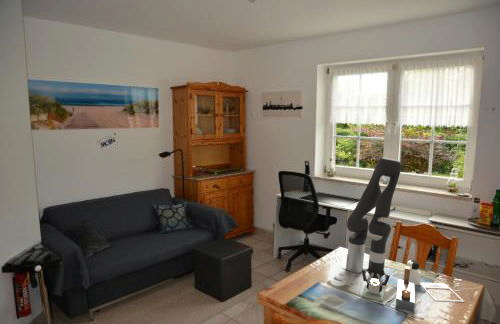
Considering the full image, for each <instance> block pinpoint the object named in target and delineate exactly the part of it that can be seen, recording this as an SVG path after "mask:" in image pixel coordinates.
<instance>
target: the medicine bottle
mask: <svg viewBox="0 0 500 324" xmlns="http://www.w3.org/2000/svg"><path fill="white" fill-rule="evenodd" d="M406 266H407V267H410V276H409V281H410V282H414V283H415V286H421V285H420V284H421V283H422V275H423V274H422V272H421V271H420V263H419V262H418V261H416V260H411V259H410V260H408V261H407V264H406ZM404 273H405V266H404V267H403V274H402V280H404Z"/></svg>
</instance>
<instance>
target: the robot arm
mask: <svg viewBox="0 0 500 324" xmlns="http://www.w3.org/2000/svg"><path fill="white" fill-rule="evenodd" d="M401 170H402V163H401V162H400V161H399V160H397V159H393V158H389V157H380V158H379V159H378V160H377V162H376V165H375V168H374V170H373V172H372V175H371V177H370V180H369V182H368V184H367V185H366V187H365V189H364V191H363V193H362V194H361V196H360V198H359V201H358V202H357V204H356V206H355V207H354V210H352V212H351V213H350V215H349V216H348V219H347V220H346V228H347V230H348V231H350V233H351V232H352V233H353V234H351V235H349V237H348V245H347V247H348V248H347V254H346V262H345V263H346V264H345V270H346V271H348V272H350V273H354V274H362V281H363V282H366V285H367V288H368V290H369V282H370V280H371V279H372V278H375V279H378V280H379V283H380V288H379V292H380V291H381V292H382V289H383V287H384V286H387V285H388V282H389V279H390V277H391V274H390V273H386V272H385V262H386V246H387V242H388V238H389V236H390V234H391V231H392V227H391V224H389V223H388V222H383V221H379V219H381V218H382V219H383V218H384V219H386V218H387V219H388V218H389V216H390V212H391V208H392V207H391V206H392V201H393V197H394V194H395V190H396V188H397V184H398V182H399V181H398V180H399V178H400V174H401ZM382 177H388V178H389V181H388V184H387V186H385V188H384V189H383V190H382V189H381V185H380V180H381V178H382ZM373 210H374V214H373V216H372V219H371V220H370V222H369V221H368V218H367V217H366V215H367V214H369V213H370V212H371V211H373ZM368 232H369V234H371V235H375V236H379V237H380V238H372V239H371V243H370V248H369V249H370V251H369V257H368V268H364V259H365V258H364V257H365V246H366V241H367V237H368ZM367 274H368V278H367ZM383 276H384V281H383V279H382V278H383Z"/></svg>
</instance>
